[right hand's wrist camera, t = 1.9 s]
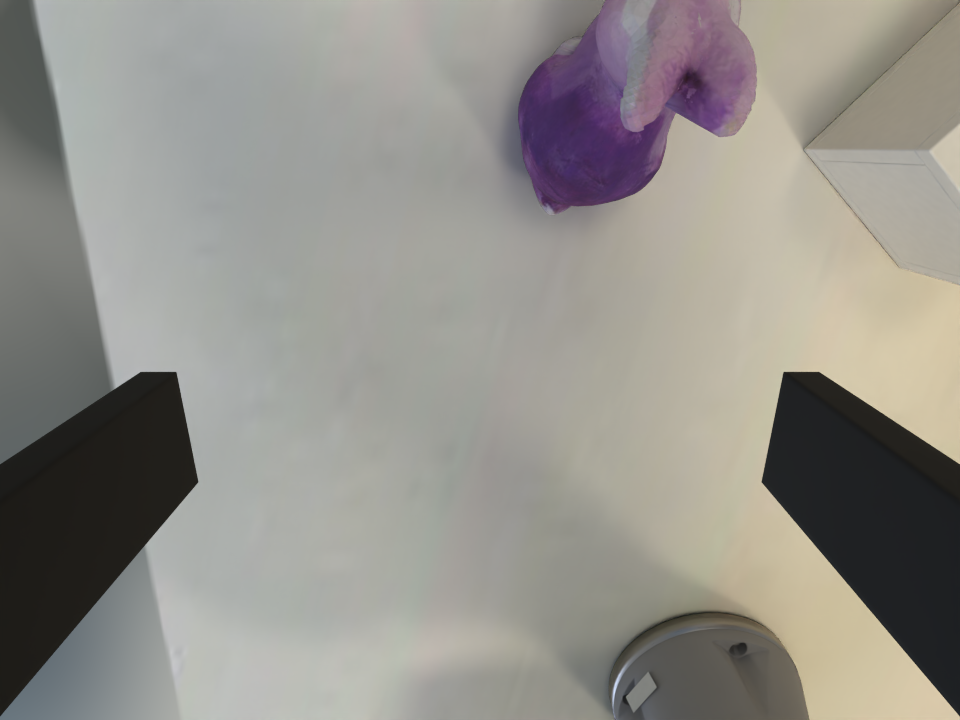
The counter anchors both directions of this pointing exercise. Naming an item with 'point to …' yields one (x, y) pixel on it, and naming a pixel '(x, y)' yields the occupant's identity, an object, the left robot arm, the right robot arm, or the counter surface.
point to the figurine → (632, 96)
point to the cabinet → (905, 155)
